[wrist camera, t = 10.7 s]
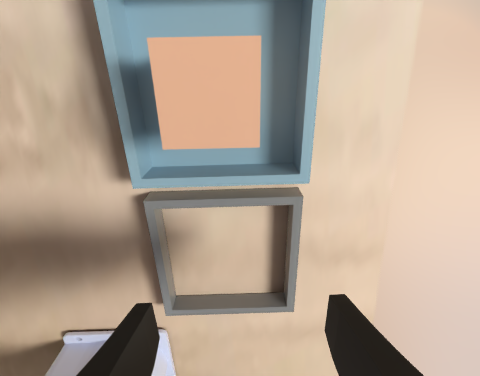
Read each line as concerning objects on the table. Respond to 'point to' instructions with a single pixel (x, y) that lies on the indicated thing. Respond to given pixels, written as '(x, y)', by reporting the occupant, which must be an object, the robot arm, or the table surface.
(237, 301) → the charcoal square frame
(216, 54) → the terracotta block
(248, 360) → the table surface
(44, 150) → the table surface
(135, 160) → the slate-blue tray
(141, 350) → the robot arm
